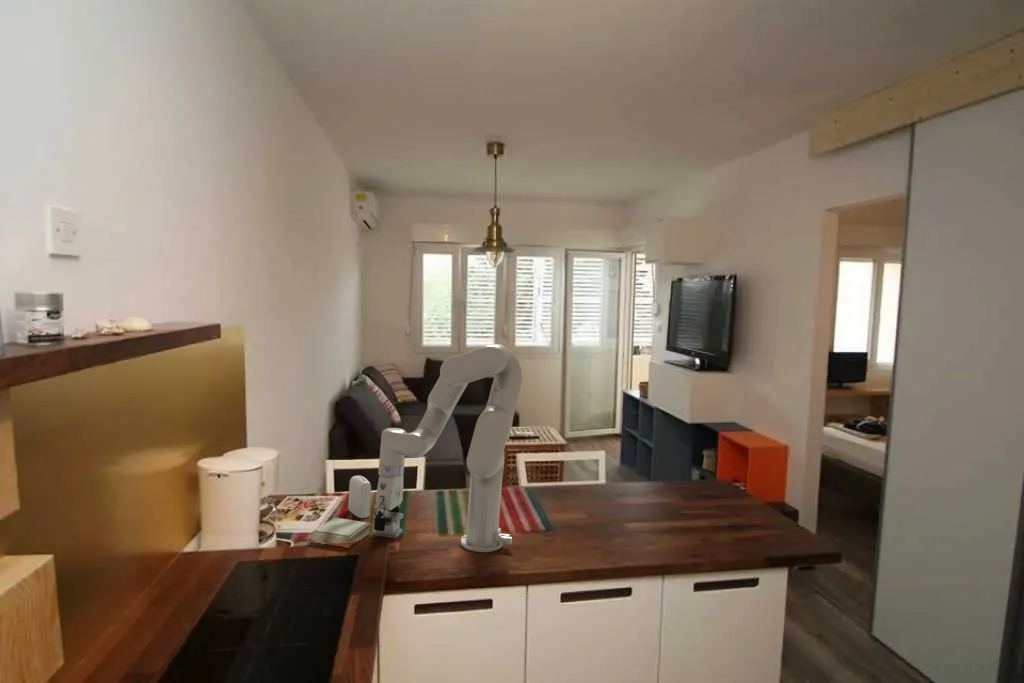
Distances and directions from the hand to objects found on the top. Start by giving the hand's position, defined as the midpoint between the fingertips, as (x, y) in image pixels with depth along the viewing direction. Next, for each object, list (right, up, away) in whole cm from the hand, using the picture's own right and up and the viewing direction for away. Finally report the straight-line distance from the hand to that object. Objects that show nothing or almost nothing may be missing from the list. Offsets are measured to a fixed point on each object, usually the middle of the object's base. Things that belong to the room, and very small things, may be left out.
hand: (386, 524), depth 161 cm
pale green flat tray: (-12, -2, -6) cm, 13 cm away
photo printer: (-13, -2, +15) cm, 20 cm away
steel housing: (0, -3, 0) cm, 3 cm away
